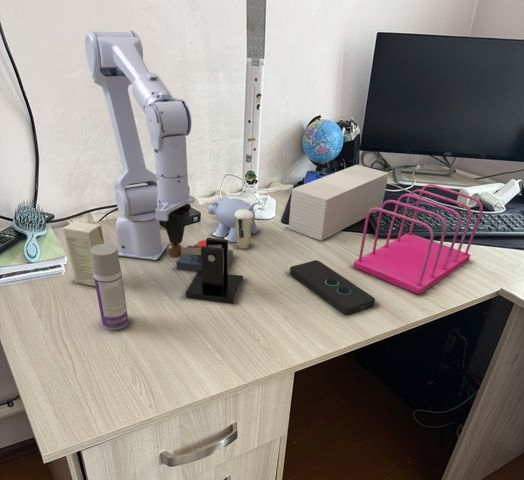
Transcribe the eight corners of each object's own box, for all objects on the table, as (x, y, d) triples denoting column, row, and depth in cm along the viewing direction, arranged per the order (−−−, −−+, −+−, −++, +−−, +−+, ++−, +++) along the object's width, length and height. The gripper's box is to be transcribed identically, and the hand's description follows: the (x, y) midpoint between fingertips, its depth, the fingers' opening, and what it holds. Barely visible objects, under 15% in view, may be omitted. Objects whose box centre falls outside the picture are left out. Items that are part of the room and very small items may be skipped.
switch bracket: (185, 297, 99) (183, 251, 93) (198, 275, 107) (197, 231, 101) (233, 303, 98) (234, 257, 92) (243, 280, 106) (244, 236, 100)
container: (104, 316, 92) (91, 243, 83) (130, 316, 93) (119, 243, 84) (100, 330, 88) (86, 255, 79) (126, 330, 89) (115, 255, 80)
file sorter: (469, 261, 119) (490, 198, 110) (418, 296, 104) (438, 226, 95) (406, 238, 128) (421, 179, 119) (352, 267, 113) (364, 202, 104)
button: (195, 253, 109) (195, 245, 108) (199, 246, 111) (199, 239, 110) (211, 254, 108) (211, 247, 107) (215, 248, 111) (215, 241, 110)
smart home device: (346, 308, 95) (288, 266, 108) (345, 316, 96) (287, 273, 109) (377, 298, 99) (317, 259, 112) (375, 305, 100) (316, 265, 113)
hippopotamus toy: (224, 218, 134) (225, 183, 128) (266, 234, 126) (269, 198, 121) (196, 228, 127) (195, 192, 121) (239, 246, 119) (240, 209, 114)
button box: (176, 268, 109) (175, 254, 107) (188, 251, 116) (187, 238, 114) (224, 274, 108) (224, 260, 105) (233, 257, 115) (233, 243, 113)
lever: (165, 260, 99) (163, 246, 97) (170, 253, 101) (168, 239, 99) (220, 263, 97) (219, 248, 95) (224, 256, 99) (222, 241, 97)
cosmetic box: (111, 279, 104) (103, 224, 96) (99, 288, 100) (90, 232, 93) (86, 273, 105) (75, 219, 98) (73, 282, 102) (61, 227, 94)
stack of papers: (321, 240, 125) (326, 199, 118) (288, 228, 130) (291, 188, 123) (381, 209, 145) (388, 172, 138) (351, 200, 150) (356, 164, 143)
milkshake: (253, 251, 118) (254, 211, 112) (231, 248, 118) (232, 209, 112) (257, 244, 121) (258, 205, 115) (236, 241, 122) (236, 202, 116)
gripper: (181, 188, 83) (185, 259, 91) (203, 164, 95) (204, 229, 103) (141, 183, 84) (149, 255, 92) (168, 160, 95) (172, 226, 103)
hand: (176, 241), depth 97 cm, fingers closed
